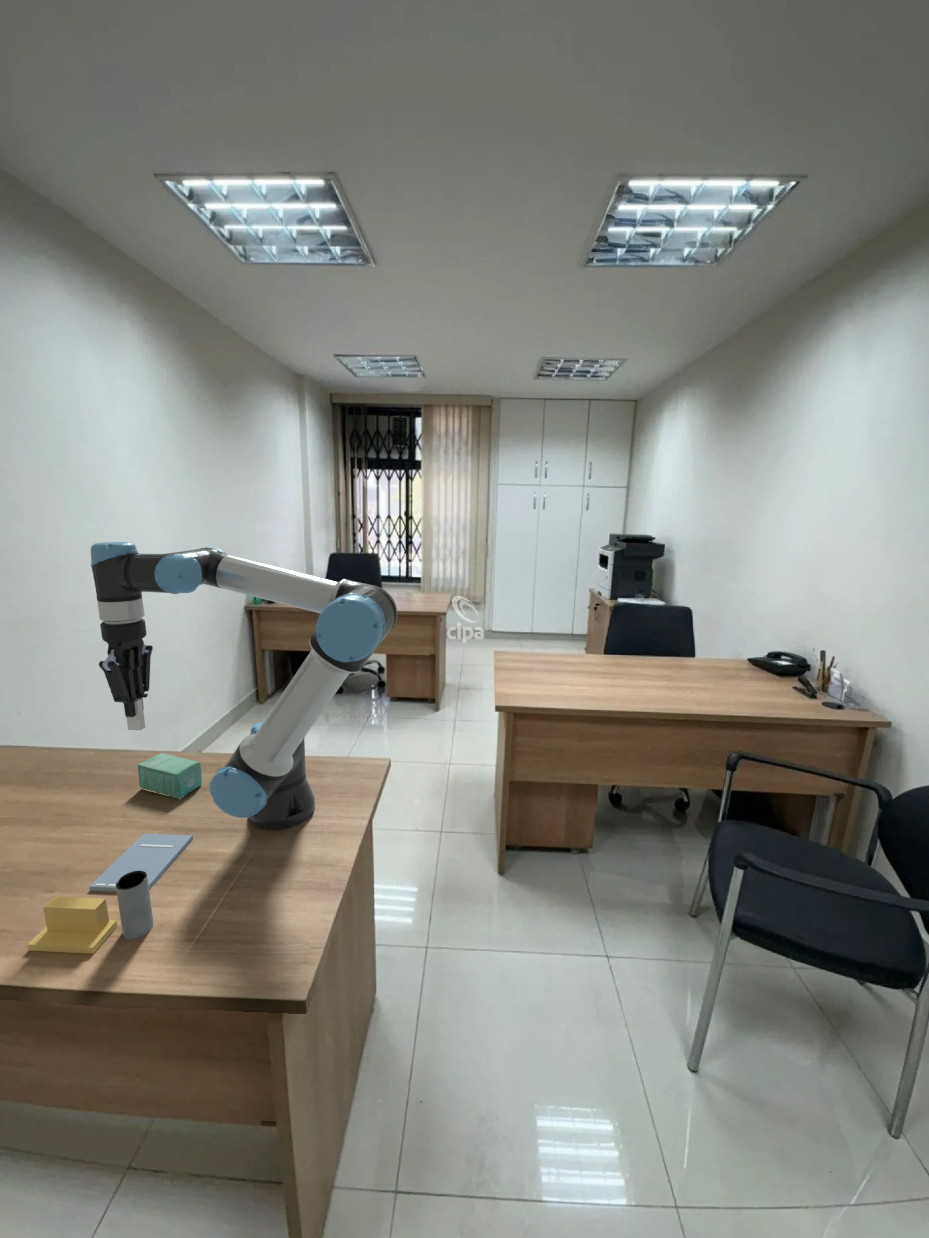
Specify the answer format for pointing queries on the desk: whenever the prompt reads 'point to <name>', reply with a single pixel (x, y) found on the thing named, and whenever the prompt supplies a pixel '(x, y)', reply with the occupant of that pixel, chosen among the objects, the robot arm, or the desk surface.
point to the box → (169, 775)
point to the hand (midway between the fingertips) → (136, 728)
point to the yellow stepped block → (74, 925)
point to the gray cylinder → (134, 904)
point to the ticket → (144, 859)
